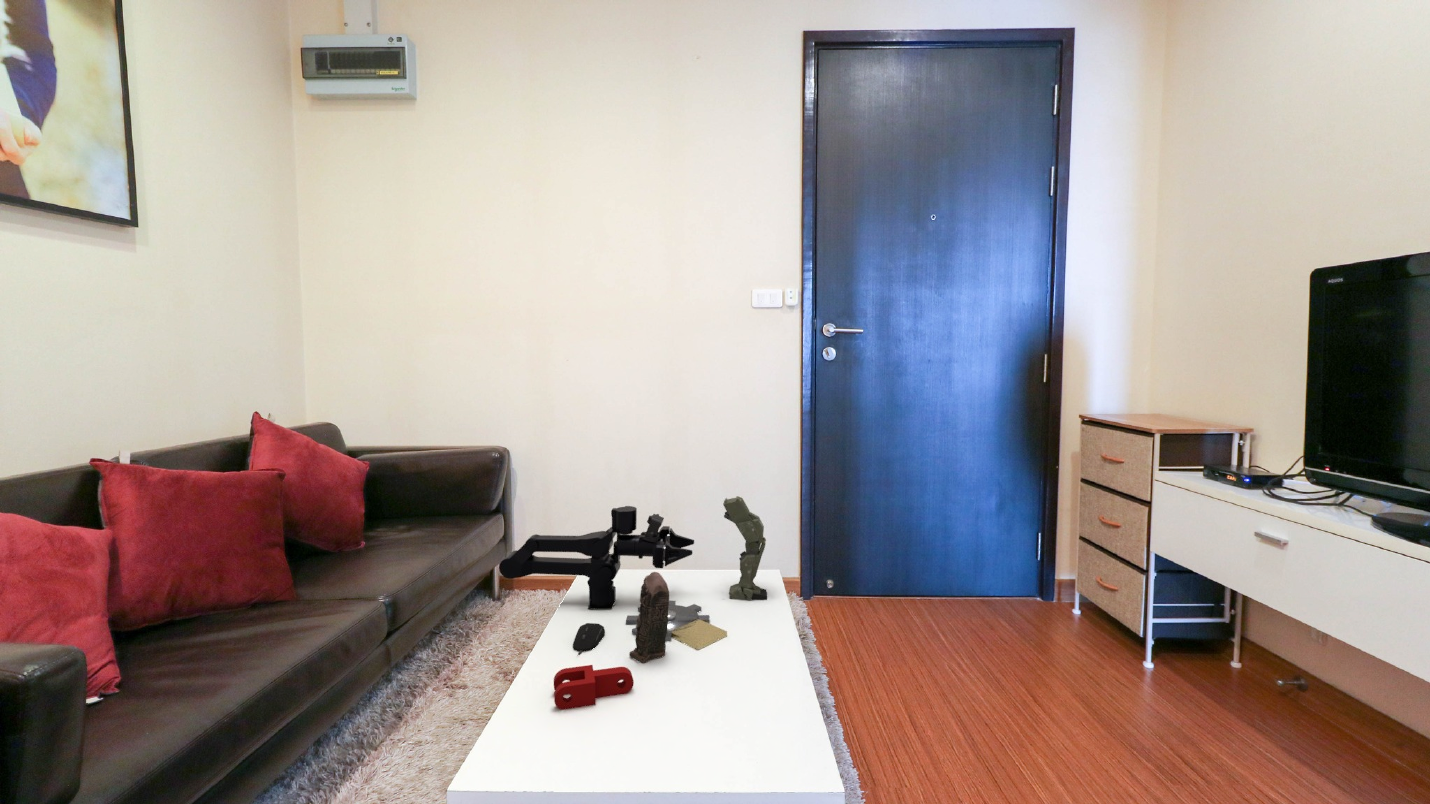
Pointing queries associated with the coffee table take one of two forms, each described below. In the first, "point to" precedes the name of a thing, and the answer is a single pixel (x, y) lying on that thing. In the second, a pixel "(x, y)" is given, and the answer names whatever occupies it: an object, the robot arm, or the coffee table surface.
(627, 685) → the mechanical linkage
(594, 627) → the gaming mouse
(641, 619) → the statue
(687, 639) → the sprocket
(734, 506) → the mechanical leg
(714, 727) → the coffee table surface
